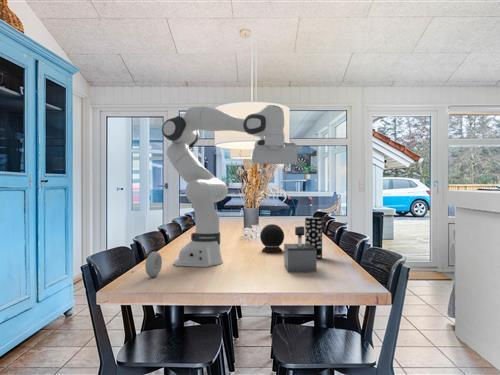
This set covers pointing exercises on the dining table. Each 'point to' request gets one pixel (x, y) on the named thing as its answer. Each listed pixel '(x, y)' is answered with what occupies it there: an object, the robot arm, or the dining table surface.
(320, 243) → the spotted tube
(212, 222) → the robot arm
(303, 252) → the block
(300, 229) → the plunger
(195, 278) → the dining table surface
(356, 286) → the dining table surface
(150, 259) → the grey thick disc
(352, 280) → the dining table surface
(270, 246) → the black ball on stand
